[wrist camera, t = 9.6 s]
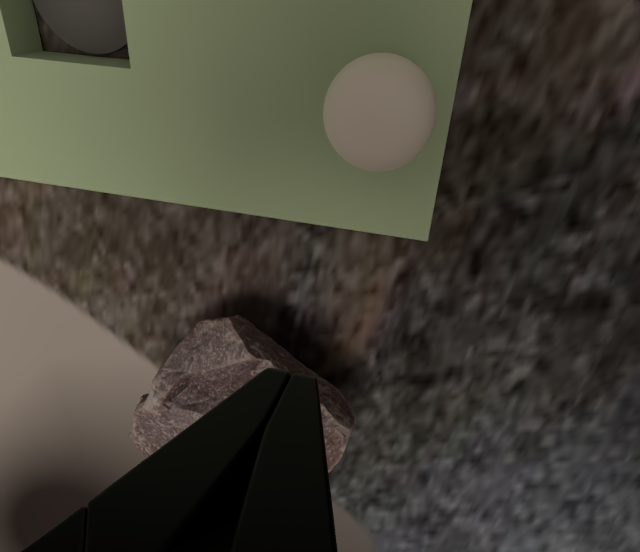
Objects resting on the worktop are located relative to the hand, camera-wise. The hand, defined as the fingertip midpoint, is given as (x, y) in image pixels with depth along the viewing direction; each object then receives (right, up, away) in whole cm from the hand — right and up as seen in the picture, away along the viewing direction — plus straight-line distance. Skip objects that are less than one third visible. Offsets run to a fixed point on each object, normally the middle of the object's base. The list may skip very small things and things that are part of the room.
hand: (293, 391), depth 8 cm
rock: (-6, -4, +20) cm, 21 cm away
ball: (+2, +7, +6) cm, 9 cm away
